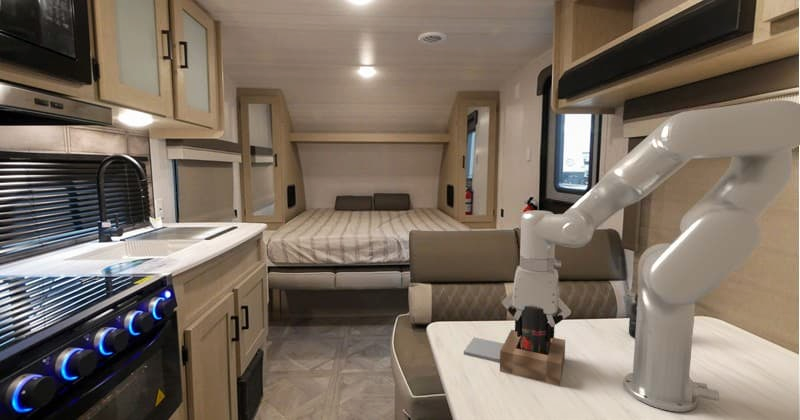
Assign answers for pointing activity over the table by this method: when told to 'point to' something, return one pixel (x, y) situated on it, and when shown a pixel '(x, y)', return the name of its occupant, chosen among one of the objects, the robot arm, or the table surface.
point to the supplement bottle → (633, 317)
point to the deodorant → (534, 330)
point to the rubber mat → (484, 349)
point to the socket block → (533, 360)
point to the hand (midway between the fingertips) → (534, 336)
